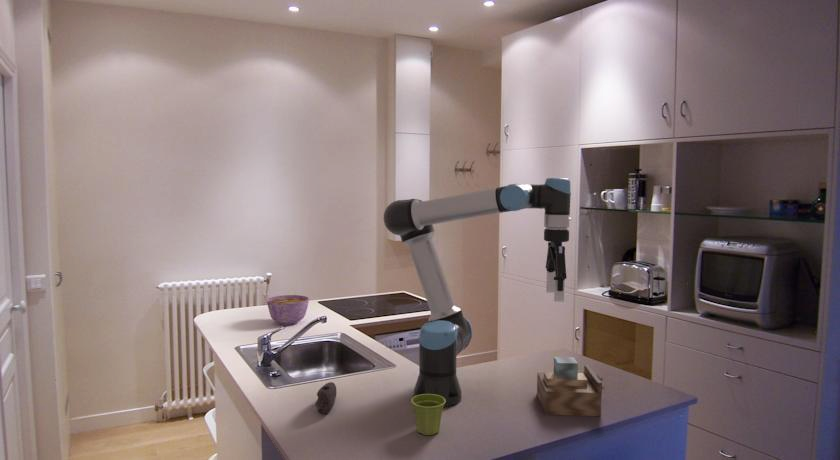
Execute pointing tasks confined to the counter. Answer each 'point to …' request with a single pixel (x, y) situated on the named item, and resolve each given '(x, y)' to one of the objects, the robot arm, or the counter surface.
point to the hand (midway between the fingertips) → (554, 296)
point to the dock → (571, 396)
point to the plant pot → (428, 412)
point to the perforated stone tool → (326, 397)
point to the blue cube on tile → (565, 373)
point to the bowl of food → (287, 308)
